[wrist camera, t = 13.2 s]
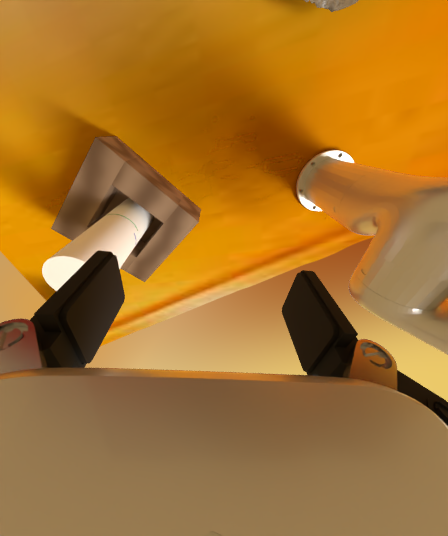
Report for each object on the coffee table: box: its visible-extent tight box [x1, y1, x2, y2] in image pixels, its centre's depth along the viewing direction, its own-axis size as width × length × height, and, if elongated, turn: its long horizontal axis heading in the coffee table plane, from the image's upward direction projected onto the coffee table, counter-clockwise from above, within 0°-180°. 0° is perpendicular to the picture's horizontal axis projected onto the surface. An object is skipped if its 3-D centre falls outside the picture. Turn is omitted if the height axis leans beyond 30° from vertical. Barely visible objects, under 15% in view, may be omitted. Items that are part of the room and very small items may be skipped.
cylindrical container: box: [42, 198, 154, 291], centre depth 35 cm, size 7×7×25 cm
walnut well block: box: [51, 136, 201, 282], centre depth 43 cm, size 21×21×8 cm
